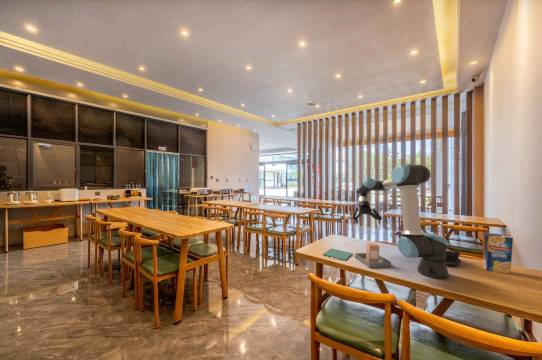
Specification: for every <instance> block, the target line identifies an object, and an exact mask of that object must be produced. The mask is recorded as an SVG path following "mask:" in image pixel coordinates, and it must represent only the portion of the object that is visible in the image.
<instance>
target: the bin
mask: <svg viewBox="0 0 542 360" xmlns="http://www.w3.org/2000/svg"><path fill="white" fill-rule="evenodd" d="M354 255H355V257H354V258H355V259H356V260H358V261H359V262H360V263H362V264H363V265H365V266H366V267H367V268H369V269H371V268H373V269H374V268H391V267H392V262H391V260H388V259H386V258H385V257H383V256H382V255H380V254H379V262H375V263H369V262H368V261H366V252H361V253H360V252H359V253H357V252H356V253H354Z"/></svg>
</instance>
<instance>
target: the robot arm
mask: <svg viewBox="0 0 542 360" xmlns="http://www.w3.org/2000/svg"><path fill="white" fill-rule="evenodd" d="M431 176H432V174H431V171H430V169H429V168H428V167H427V166H426V165H422V164H408V163H405V164H398V165H395V167H394V168H393V169H392V171H391V176H390V177H391V178H387V179H385V180H375V179H374V178H372V177H368V178H366V179H365V180H364V181H363V183H362V184H361V185H359V186H357V187H356V188H355V190H356V191H355V193H356V197H357V201H358V207H355V211H354V213H353V216H352V220H354V221H355V224H357V228H358V229H360V227H361V225H360V224H361V223H360V219H359V218H360V217H361V216H362V214H363V215H368V216H370V217H372V218H373V219H374V220H375V223H376V227H377V230H380V228H381V221H382V219H383V217H382V216H381V214H379V212H378V211H377V210H376V208H375V207H373V208H371V205H370V201H369V197H368V194H369V193H370V192H371V191H372V192H374V191H377V192H382V191H383V192H384V191H385V192H388V191H390V190H391V189H396V188H397V189H398V190H399V194H400V204H401V216H402V224H403V231H402V232H401V233H400V234H401V237H399V238H398V239H397V244H396V245H397V248H398V251H399V252H400V253H401V255H402V256H404V257H405V258H408V259H417V258H418V259H419V258H420V260H419V263H418V265H417V272H418V273H419V274H420V275H423V276H426V277H429V278H431V279H432V278H433V279H437V280H446V279H449V275H450V273H449V271H448V267H447V264H446V263H445V262H446V246H448V244H447V238H446V237H445V236H441V235H438V234H435V233H429V232H423V231H422V230H421V229H422V228H421V219H420V210H419V200H418V190H417V189H418V188H419V187H420V185H421V184H425V183H427V182H428V181H429V180H430V179H431ZM358 211H359V213H358ZM357 213H358V214H357ZM356 215H357V216H356Z"/></svg>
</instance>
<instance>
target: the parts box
mask: <svg viewBox="0 0 542 360" xmlns="http://www.w3.org/2000/svg"><path fill="white" fill-rule="evenodd" d="M365 253H366V258H365V260H366V261H368V262H369V263H375V262H380V260H379V255H380V245H379V244H378V242H366V250H365Z"/></svg>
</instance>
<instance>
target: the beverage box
mask: <svg viewBox="0 0 542 360" xmlns="http://www.w3.org/2000/svg"><path fill="white" fill-rule="evenodd" d="M513 242H514V237H512V236H511V235H509V234H502V233H501V234H498V233H491V232H484V244H483V258H482V260H483V261H482V262H483V263H482V267H483V268H484V269H485V270H486V271H488V272H494V273H500V274H508V275H511V274H512V273H511V271H512V256H513Z"/></svg>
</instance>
